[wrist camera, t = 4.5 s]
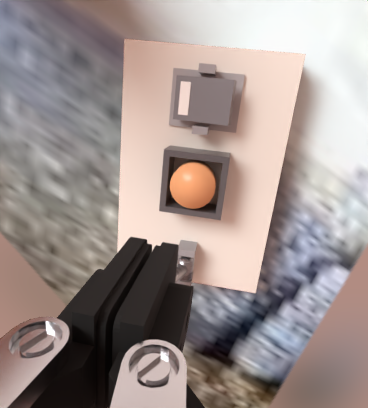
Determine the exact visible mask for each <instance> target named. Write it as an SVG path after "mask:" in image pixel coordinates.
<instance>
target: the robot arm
mask: <svg viewBox="0 0 368 408" xmlns="http://www.w3.org/2000/svg"><path fill="white" fill-rule="evenodd" d="M178 250H179V245H178V244H172V243H166V242H162V244H161V246H158V245H156V246H155V247H154V249H153V251H152V244H147V239H142V238H136V237H130V238H129V239H128V240H127V242H126V243H125V244H124V245H123V247H122V248H121V249H120V250H119V252H118V253H117V254H116V256H115V257H114V258H113V259H112V261H111V262H110V263H109V264H108V266H107V267H106V268H105V269H104V270H102V269H98V270H97V271H96V272H95V273H94V274H93V275H92V276H91V278H90V279H89V280H88V281H87V282H86V284H85V285H84V286H83V287H82V288H81V290H80V291H79V292H78V293H77V294H76V296H75V297H74V298H73V299H72V300H71V302H70V303H69V304H68V305H67V306H66V308H65V309H64V310H63V311H62V312H61V314H60V315H59V316H58V317H57V318H53V317H38V318H34V319H30V320H28V321H26V322H23V323H20V324H19V325H18V326H16V327H14V328H13V329H11V330H10V331H9V332H8V333H6V334H5V335H4V336H3V337H2V338H0V408H205V407H204V406H203V405H202V403H201V402H200V401H199V399H198V398H197V397H196V395H195V394H194V393H193V391H192V390H191V388H190V387H189V386H188V384H187V383H186V373H187V367H186V361H185V358H184V356H183V354H182V351H183V347H184V342H185V338H186V333H187V328H188V323H189V317H190V311H191V304H192V296H193V286H189V285H183V284H178V283H175V280H176V270H177V260H178Z"/></svg>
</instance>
